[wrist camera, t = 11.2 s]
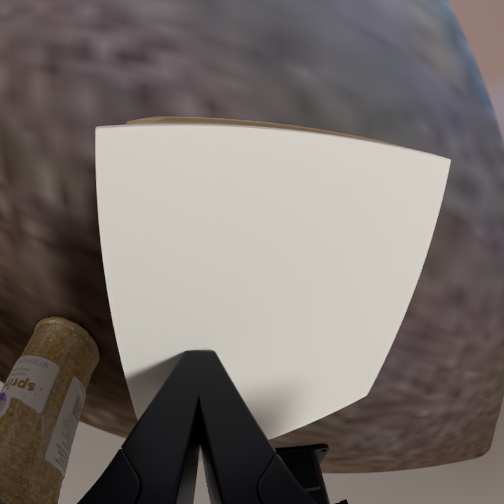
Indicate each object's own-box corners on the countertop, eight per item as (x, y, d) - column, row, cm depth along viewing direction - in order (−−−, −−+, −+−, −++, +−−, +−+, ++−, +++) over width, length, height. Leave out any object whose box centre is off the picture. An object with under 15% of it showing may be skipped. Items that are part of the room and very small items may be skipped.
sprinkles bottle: (49, 299, 15) (-53, 516, 3) (114, 344, 16) (64, 573, 4) (28, 341, 16) (-46, 519, 4) (85, 379, 18) (41, 563, 6)
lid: (359, 387, 14) (366, 395, 14) (151, 459, 10) (155, 471, 9) (437, 155, 9) (451, 159, 9) (96, 126, 5) (95, 128, 4)
